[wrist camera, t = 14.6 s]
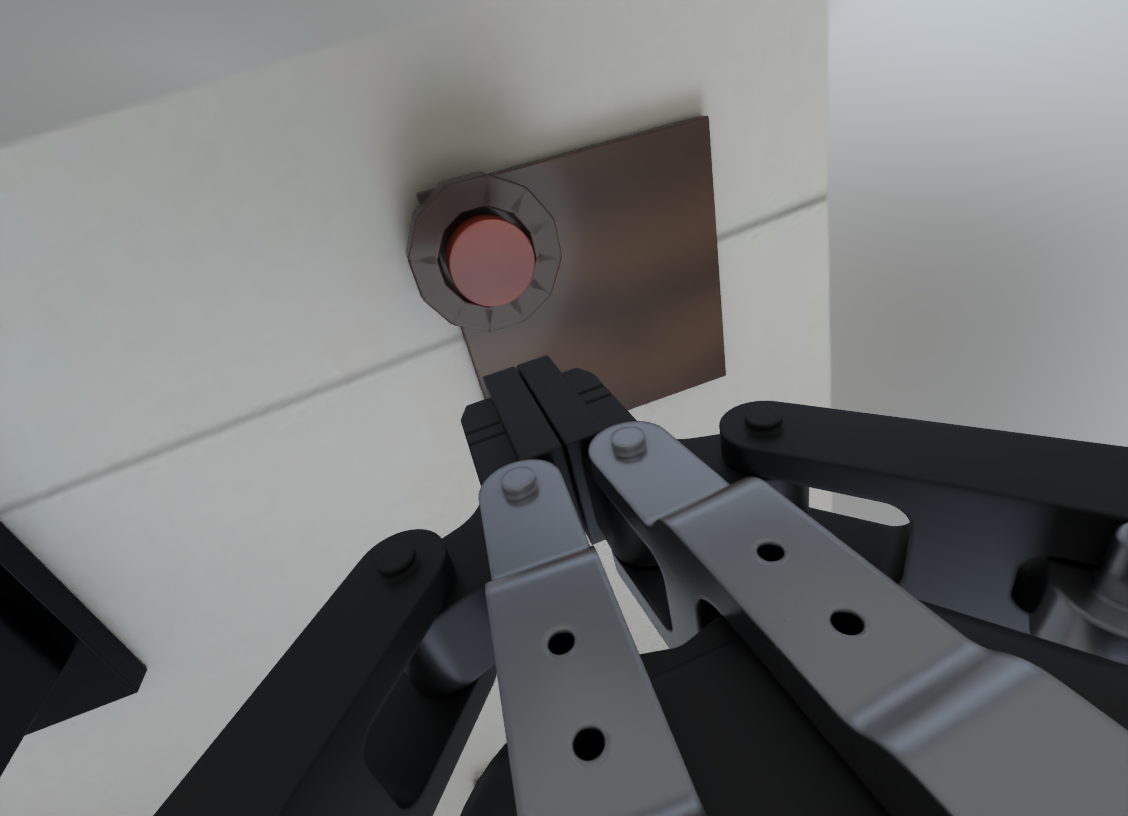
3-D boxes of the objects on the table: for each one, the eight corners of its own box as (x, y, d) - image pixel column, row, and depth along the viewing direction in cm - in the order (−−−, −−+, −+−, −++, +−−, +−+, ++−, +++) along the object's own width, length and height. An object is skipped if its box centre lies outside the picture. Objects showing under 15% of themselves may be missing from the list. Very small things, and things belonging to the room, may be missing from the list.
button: (433, 226, 23) (437, 232, 21) (515, 203, 23) (523, 208, 22) (460, 307, 24) (464, 317, 23) (535, 284, 25) (544, 292, 24)
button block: (385, 194, 23) (386, 201, 21) (701, 109, 26) (730, 108, 24) (480, 456, 31) (487, 480, 28) (720, 371, 33) (743, 388, 31)
